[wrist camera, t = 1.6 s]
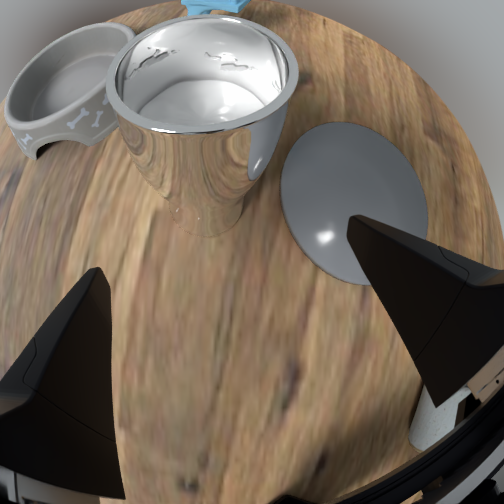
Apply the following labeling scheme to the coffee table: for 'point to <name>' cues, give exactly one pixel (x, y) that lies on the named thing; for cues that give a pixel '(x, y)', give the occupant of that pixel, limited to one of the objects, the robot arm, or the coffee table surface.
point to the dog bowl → (66, 89)
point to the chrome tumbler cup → (202, 112)
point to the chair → (213, 6)
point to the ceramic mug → (433, 419)
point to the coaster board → (347, 193)
